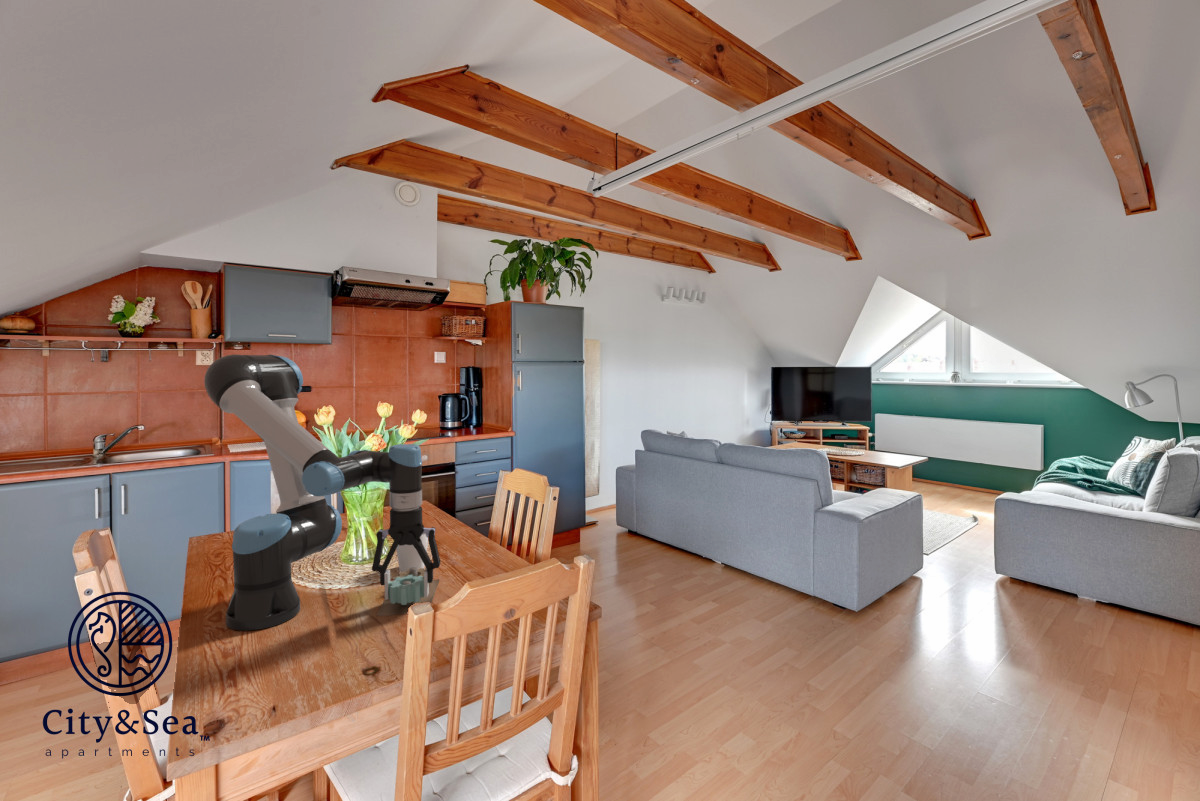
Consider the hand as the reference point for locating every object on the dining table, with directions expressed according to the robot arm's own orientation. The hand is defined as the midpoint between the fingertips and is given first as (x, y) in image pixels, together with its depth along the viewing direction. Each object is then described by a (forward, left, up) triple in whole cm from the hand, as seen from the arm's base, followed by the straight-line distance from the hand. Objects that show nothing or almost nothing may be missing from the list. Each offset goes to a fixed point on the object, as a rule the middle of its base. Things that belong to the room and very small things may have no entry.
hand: (407, 596), depth 132 cm
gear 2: (0, 0, 0) cm, 0 cm away
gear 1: (0, +9, -2) cm, 9 cm away
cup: (-3, +24, -3) cm, 24 cm away
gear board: (0, +5, -3) cm, 6 cm away
